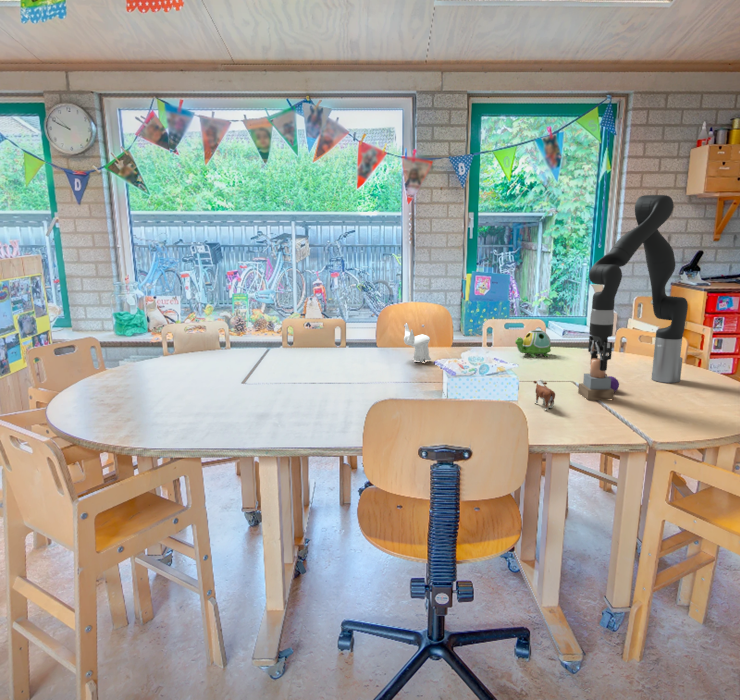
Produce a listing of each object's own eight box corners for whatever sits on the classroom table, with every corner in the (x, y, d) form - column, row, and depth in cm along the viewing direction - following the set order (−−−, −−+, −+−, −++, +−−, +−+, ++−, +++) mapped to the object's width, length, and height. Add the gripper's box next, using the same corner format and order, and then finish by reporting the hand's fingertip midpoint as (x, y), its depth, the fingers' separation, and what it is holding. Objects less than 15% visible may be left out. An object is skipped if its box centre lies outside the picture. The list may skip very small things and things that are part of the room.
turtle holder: (508, 354, 267) (509, 330, 265) (542, 351, 271) (543, 328, 269) (520, 359, 256) (522, 334, 253) (555, 357, 260) (557, 332, 257)
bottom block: (602, 393, 200) (603, 383, 199) (613, 401, 191) (614, 390, 191) (578, 394, 200) (578, 383, 199) (587, 401, 191) (588, 390, 191)
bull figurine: (542, 400, 192) (543, 377, 190) (556, 412, 179) (558, 388, 177) (530, 400, 192) (531, 378, 190) (543, 412, 179) (544, 388, 177)
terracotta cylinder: (601, 374, 196) (602, 358, 195) (607, 377, 191) (608, 361, 190) (587, 374, 196) (588, 358, 195) (593, 378, 191) (594, 361, 190)
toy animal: (402, 357, 264) (400, 323, 260) (427, 355, 264) (426, 321, 261) (407, 367, 244) (405, 329, 241) (434, 365, 245) (433, 328, 241)
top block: (602, 384, 198) (603, 373, 197) (610, 389, 191) (611, 378, 191) (583, 384, 198) (583, 373, 198) (590, 389, 192) (591, 378, 191)
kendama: (612, 371, 216) (622, 380, 197) (608, 385, 217) (617, 395, 198) (597, 367, 218) (605, 376, 198) (593, 381, 219) (600, 391, 199)
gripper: (621, 325, 182) (617, 372, 186) (603, 319, 196) (600, 363, 200) (599, 325, 182) (595, 372, 186) (583, 319, 196) (580, 363, 200)
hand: (598, 367), depth 193 cm, fingers open, 7 cm apart
